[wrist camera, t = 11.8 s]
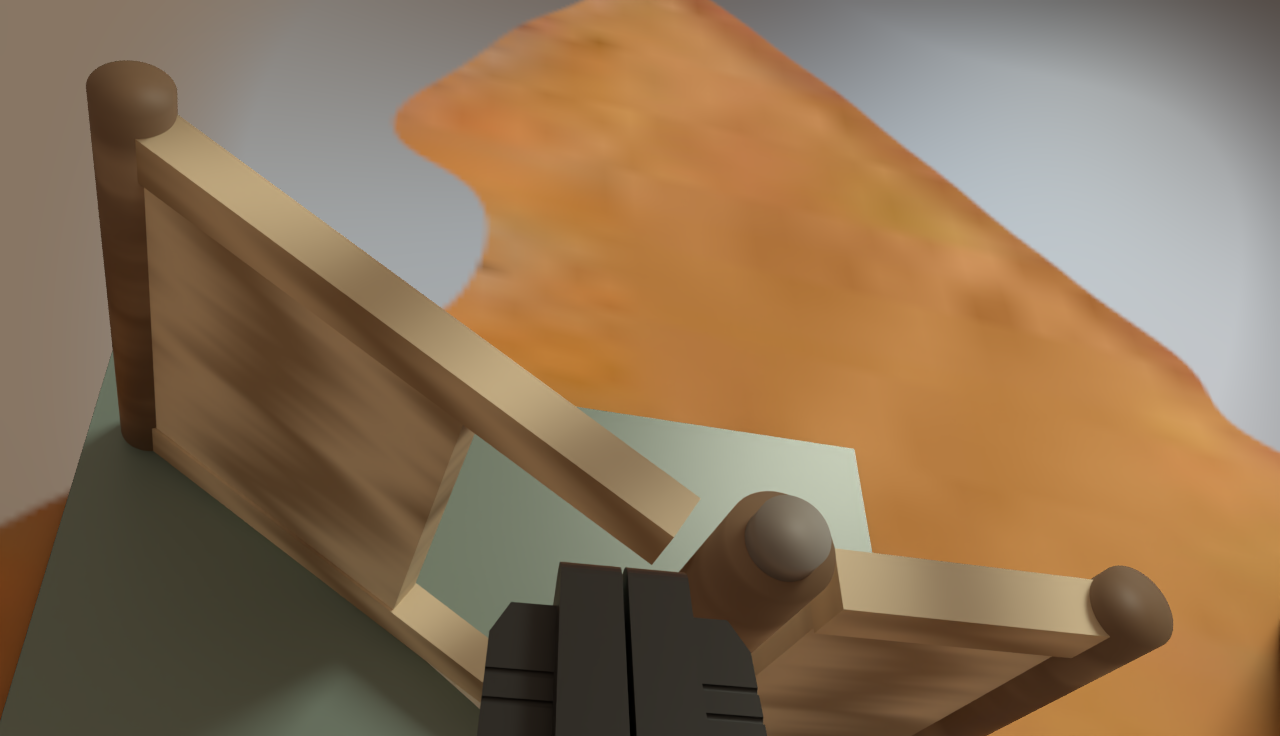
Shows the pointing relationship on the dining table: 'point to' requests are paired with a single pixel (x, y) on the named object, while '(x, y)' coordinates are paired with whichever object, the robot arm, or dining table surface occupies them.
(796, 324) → the dining table surface
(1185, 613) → the dining table surface
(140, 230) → the swing panel
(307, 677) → the mat
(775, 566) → the corner post
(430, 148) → the dining table surface
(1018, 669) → the fixed panel
